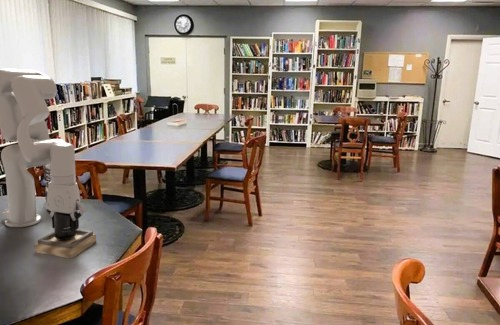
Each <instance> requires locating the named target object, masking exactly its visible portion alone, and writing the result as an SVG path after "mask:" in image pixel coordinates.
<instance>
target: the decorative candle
mask: <svg viewBox="0 0 500 325" xmlns="http://www.w3.org/2000/svg"><path fill="white" fill-rule="evenodd" d="M42 169H43V171H42V172H43V173H44V174H43V180H44V182H45V191H44V193H45V195H44V196H45V198H44V199H45V203H46V202H47V192H48V186H49V183H50V182H51V178H49V174H51V169H50V163H49V164H47V165H44V166H43V167H42Z"/></svg>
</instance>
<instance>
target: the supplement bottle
mask: <svg viewBox="0 0 500 325" xmlns="http://www.w3.org/2000/svg"><path fill="white" fill-rule="evenodd" d="M74 215H75V213H74ZM71 220H72V218H71V215H70V214H66V213H59V212H56V213H55V214H54V228H53V229H54V230H53V232H55V238H56V239H58V240H69V239H72V238H74V237H75V236H76V230H75V231H71Z"/></svg>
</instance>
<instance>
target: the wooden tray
mask: <svg viewBox="0 0 500 325" xmlns="http://www.w3.org/2000/svg"><path fill="white" fill-rule="evenodd" d="M96 242H97V233H94V231H91V230H86V229H79V228H78V229H77V230H76V236H75V237H74V238H72V239H69V240H58V239H56V238H55V232H54V231H52V232H50V233H48V234H46V235H45V236H43V237H40V238H39V239H38V240H37V242H35V243H34V244H33V245H34V253H37V254H42V255H49V256H54V257H55V256H56V257H62V258H67V259H73V258H75V257H76V256H77V255H79V254H80V253H81V252H83V251H85V250H86V249H87V248H89V247H91V246H92V245H93V244H95V243H96Z"/></svg>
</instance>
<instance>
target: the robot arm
mask: <svg viewBox="0 0 500 325" xmlns="http://www.w3.org/2000/svg"><path fill="white" fill-rule="evenodd" d="M57 92H58V89H57V85H56V82H55V81H54V80H53V78H52V77H51V76H49V75H47V74H45V73H42V72H41V71H38V70H33V69H17V68H0V132H1V135H2V137H3V139H4V140H5V141H8V142H17V144H11V145H8V146H6V147H4V148H3V149H2V150H1V151H0V152H1V153H0V159H1V162H2V165H3V170H4V174H5V183H6V185H5V186H6V195H7V207H8V208H5V209H4V210H3V211H2V212H1V216H6V219H5V220H4V225H5V226H7V227H10V228H26V227H31V226H33V225H36V224H39V223H40V222H41V221H42V216H41V215H40V214H37V203H36V202H37V199H36V186H35V178H34V176H33V175H32V174H31V173H30V172H29V171H28V169H30V168H35V167H42V166H43V167H44V165H47V164H49V163H50V169H51V174H49V178H51V182H50V183H49V186H48V192H47V196H46V197H47V202H46V201H45V203H43V207H44V209H45V210H46V212H47V213H48V214H49V217H50V218H51V229H54V214H55V213H56V212H59V213H66V214H70V215H71V218H72V220H71V231H75V230H77V229H79V226H80V221H79V219H80V218H81V217H82V216H83V215H84V213H86V212H87V209H86V207H85V206H84V205H83V204H82V203H81V194H80V188H79V185H78V183H77V180H76V179H77V178H76V156H75V155H76V154H75V150H76V149H75V146H74V144H72V143H69V142H67V141H66V140H64V139H62V138H51V139H50V134H49V129H48V124H47V122H46V119H47V118H49V116H50V110H49V107H48V105H47V102H46V100H52V99H54V98H56V96H57V94H58V93H57ZM74 213H75V215H74Z"/></svg>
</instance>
